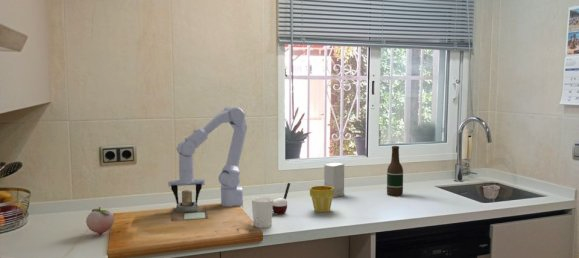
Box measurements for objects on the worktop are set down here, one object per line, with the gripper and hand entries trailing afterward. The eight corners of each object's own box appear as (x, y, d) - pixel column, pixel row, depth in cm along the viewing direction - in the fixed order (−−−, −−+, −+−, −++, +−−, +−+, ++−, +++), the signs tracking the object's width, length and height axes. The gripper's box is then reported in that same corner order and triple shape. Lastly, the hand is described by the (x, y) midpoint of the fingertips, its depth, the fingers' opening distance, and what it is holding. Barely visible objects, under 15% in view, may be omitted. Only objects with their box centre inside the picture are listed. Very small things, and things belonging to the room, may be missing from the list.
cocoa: (271, 216, 184) (269, 187, 183) (268, 212, 190) (267, 184, 189) (293, 214, 186) (292, 185, 184) (290, 209, 192) (289, 182, 191)
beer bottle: (404, 196, 216) (405, 147, 214) (388, 196, 216) (389, 147, 215) (401, 193, 224) (401, 145, 222) (385, 193, 224) (385, 145, 222)
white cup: (257, 229, 165) (256, 202, 164) (248, 224, 172) (248, 198, 171) (276, 226, 168) (276, 200, 168) (267, 221, 175) (267, 196, 175)
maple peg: (192, 208, 190) (191, 190, 189) (192, 211, 186) (191, 191, 185) (182, 209, 189) (181, 190, 188) (182, 211, 185) (181, 192, 184)
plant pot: (304, 210, 191) (304, 188, 191) (320, 206, 199) (320, 184, 198) (323, 215, 184) (323, 191, 184) (339, 210, 192) (339, 187, 191)
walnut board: (206, 209, 195) (206, 205, 194) (208, 222, 174) (208, 218, 174) (172, 211, 192) (172, 207, 192) (170, 225, 171) (170, 221, 171)
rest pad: (204, 213, 183) (204, 212, 183) (205, 218, 175) (205, 217, 175) (184, 214, 181) (184, 213, 181) (184, 219, 173) (184, 218, 173)
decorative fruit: (80, 236, 158) (79, 208, 157) (98, 230, 165) (97, 203, 164) (101, 239, 154) (100, 211, 154) (118, 232, 162) (117, 205, 161)
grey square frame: (197, 207, 192) (197, 201, 192) (197, 212, 184) (197, 206, 184) (177, 208, 191) (176, 202, 190) (176, 213, 182) (176, 207, 182)
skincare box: (335, 193, 225) (335, 162, 224) (345, 195, 220) (345, 163, 219) (323, 195, 219) (323, 164, 218) (333, 197, 215) (333, 165, 213)
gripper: (167, 172, 181) (168, 205, 182) (204, 171, 184) (205, 203, 185) (168, 169, 188) (169, 201, 189) (203, 168, 191) (204, 199, 192)
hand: (187, 202), depth 187 cm, fingers open, 7 cm apart
